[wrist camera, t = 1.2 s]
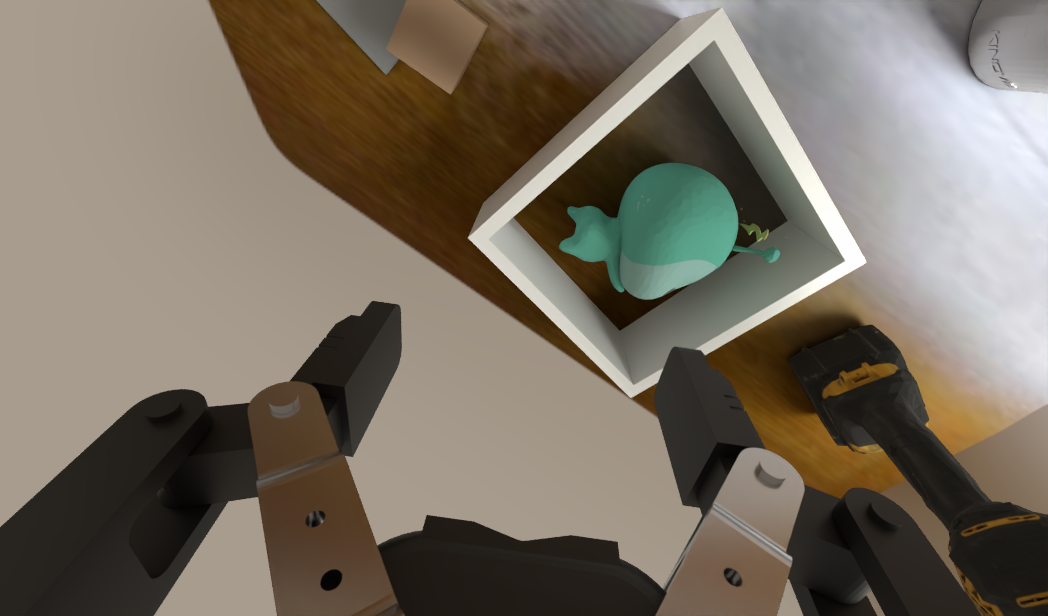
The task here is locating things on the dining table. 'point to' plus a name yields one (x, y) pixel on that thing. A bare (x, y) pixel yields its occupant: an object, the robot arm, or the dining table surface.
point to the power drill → (927, 468)
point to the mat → (368, 25)
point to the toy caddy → (739, 283)
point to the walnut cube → (437, 39)
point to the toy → (663, 231)
